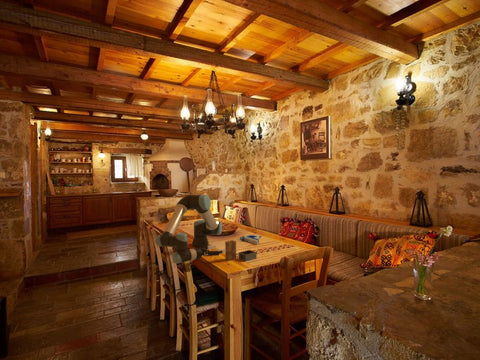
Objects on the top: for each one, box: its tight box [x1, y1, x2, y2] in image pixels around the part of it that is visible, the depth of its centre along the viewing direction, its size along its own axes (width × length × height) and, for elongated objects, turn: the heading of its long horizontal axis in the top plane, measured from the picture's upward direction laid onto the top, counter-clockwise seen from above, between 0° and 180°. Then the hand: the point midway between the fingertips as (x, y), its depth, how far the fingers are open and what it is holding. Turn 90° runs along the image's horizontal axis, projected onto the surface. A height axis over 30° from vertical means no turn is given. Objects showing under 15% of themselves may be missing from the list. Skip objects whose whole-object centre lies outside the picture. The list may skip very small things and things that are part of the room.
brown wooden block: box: [224, 239, 237, 262], centre depth 203 cm, size 7×4×14 cm, turn 128°
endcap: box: [238, 249, 258, 262], centre depth 204 cm, size 11×8×5 cm
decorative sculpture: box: [239, 234, 263, 245], centre depth 260 cm, size 27×4×30 cm
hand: (220, 248), depth 197 cm, fingers open, 13 cm apart
